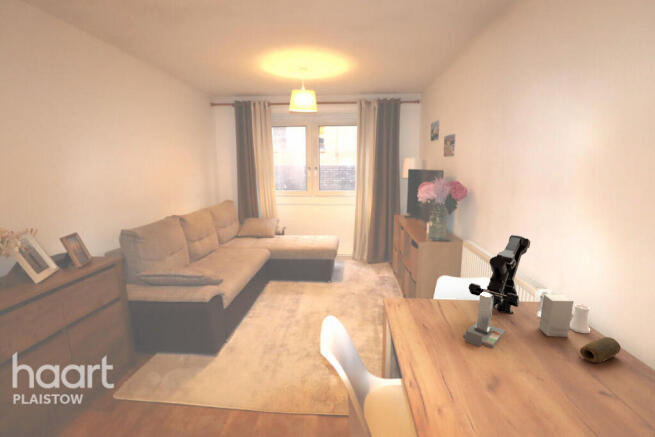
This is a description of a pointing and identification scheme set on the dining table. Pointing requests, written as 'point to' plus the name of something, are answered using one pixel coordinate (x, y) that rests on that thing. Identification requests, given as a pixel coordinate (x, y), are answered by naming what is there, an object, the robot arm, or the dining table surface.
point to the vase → (580, 319)
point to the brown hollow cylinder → (600, 350)
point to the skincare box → (556, 315)
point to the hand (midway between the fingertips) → (487, 312)
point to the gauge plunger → (485, 314)
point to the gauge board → (483, 336)
